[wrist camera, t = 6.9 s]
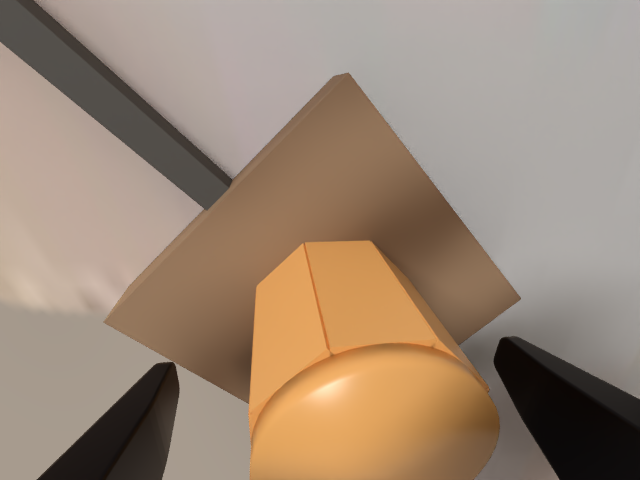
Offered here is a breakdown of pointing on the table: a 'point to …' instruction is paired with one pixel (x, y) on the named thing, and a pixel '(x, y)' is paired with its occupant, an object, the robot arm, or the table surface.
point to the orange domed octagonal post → (360, 376)
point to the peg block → (308, 239)
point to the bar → (108, 99)
